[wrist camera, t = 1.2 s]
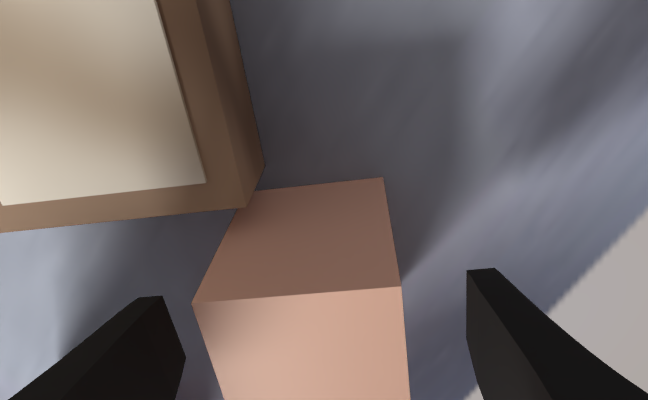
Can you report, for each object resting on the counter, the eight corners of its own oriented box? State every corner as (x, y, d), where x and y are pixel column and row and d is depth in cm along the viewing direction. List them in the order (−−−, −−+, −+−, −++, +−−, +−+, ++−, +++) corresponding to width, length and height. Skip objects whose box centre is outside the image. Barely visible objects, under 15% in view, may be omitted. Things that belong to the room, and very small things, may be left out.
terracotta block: (393, 289, 14) (413, 431, 10) (271, 299, 15) (237, 439, 10) (382, 176, 12) (401, 286, 8) (245, 191, 13) (190, 303, 8)
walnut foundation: (265, 166, 12) (245, 209, 10) (52, 190, 13) (-12, 235, 11) (205, -111, 10) (159, -138, 7) (-62, -60, 10) (-182, -71, 8)
